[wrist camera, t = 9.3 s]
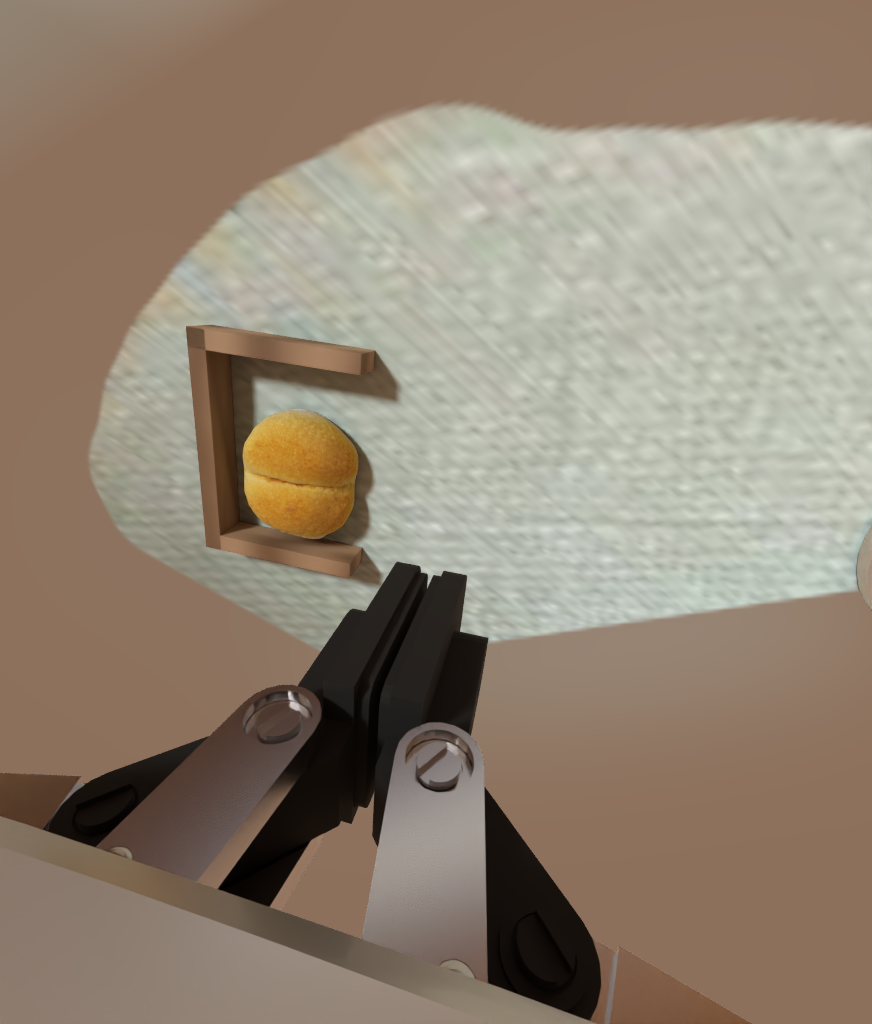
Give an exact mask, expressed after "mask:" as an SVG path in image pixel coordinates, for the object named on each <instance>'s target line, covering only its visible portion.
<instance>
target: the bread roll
mask: <svg viewBox="0 0 872 1024" xmlns="http://www.w3.org/2000/svg"><path fill="white" fill-rule="evenodd" d="M243 463H244V490H245V495H246V497H247V500H248V503H249V506H250V507H251V509H252V510H253V512H254V513H255V514H256V516H257V517H258V518H259V519H260V520H262V521H263V522H264V523H266V524H267V525H269V526H271V527H273V528H275V529H278V530H280V531H281V532H283V533H288V534H292V535H295V536H300V537H303V538H308V539H320V538H323V537H324V536H326V535H327V534H329V533H332V532H334V531H336V530H338V529H339V528H341V527H342V526H343V525H344V524H345V522H346V521H347V519H348V517H349V515H350V513H351V511H352V509H353V505H354V494H355V490H354V486H355V478H356V475H357V472H358V453H357V450H356V448H355V447H354V445H353V444H352V442H351V441H350V440H349V439H348V438H347V437H346V436H345V435H344V433H343V432H342V431H341V430H340V429H339V428H338V427H337V426H336V425H334V424H333V423H332V422H331V421H329V420H328V419H327V418H325V417H324V416H322V415H320V414H319V413H316V412H313V411H310V410H306V409H291V410H287V411H283V412H279V413H276V414H273V415H271V416H269V417H267V418H265V419H264V420H262V421H261V422H260V423H259V424H258V425H257V426H256V427H255V428H254V429H253V431H252V432H251V434H250V435H249V437H248V439H247V440H246V442H245V444H244V449H243Z"/></svg>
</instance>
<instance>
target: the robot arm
mask: <svg viewBox="0 0 872 1024" xmlns="http://www.w3.org/2000/svg"><path fill="white" fill-rule="evenodd" d="M857 579H858V586H859V589H860V592H861V594H862V596H863V599H864V601H865V602H866V604H867V605H868V606H869V608H870V609H871V610H872V527H871V528H870V530H869V531H868V533H867V534H866V536H865V539H864V541H863V544H862V546H861V549H860V552H859V555H858V563H857ZM427 581H428V575H427V574H425V573H421V569H420V566H416V565H411V564H406V563H401V562H397V563H396V564H395V565H394V567H393V568H392V570H391V572H390V573H389V575H388V576H387V578H386V580H385V581H384V583H383V584H382V586H381V587H380V589H379V591H378V592H377V594H376V595H375V597H374V599H373V600H372V602H371V603H370V605H369V607H368V608H367V610H366V611H362V610H357V609H351V610H350V611H349V612H348V613H347V614H346V616H345V617H344V619H343V620H342V622H341V623H340V625H339V626H338V628H337V629H336V630H335V632H334V633H333V635H332V636H331V638H330V639H329V641H328V642H327V644H326V645H325V647H324V648H323V649H322V651H321V652H320V654H319V655H318V657H317V658H316V660H315V661H314V663H313V664H312V666H311V667H310V669H309V670H308V671H307V673H306V674H305V676H304V677H303V679H302V680H301V682H300V683H299V685H298V686H296V685H277V686H273V687H269V688H266V689H264V690H261V691H259V692H257V693H255V694H254V695H252V696H251V697H250V698H248V699H247V700H246V701H245V702H244V703H243V704H242V705H241V706H239V707H238V708H237V709H236V710H235V712H233V713H232V714H231V715H230V716H229V717H228V718H227V719H226V720H225V721H224V722H223V723H222V724H221V725H220V726H219V727H218V728H217V729H216V730H215V731H214V732H213V733H212V734H211V735H210V736H208V737H205V738H202V739H200V740H197V741H194V742H192V743H189V744H186V745H183V746H180V747H178V748H175V749H172V750H169V751H167V752H164V753H161V754H158V755H155V756H153V757H150V758H147V759H144V760H142V761H139V762H136V763H133V764H131V765H128V766H125V767H123V768H120V769H117V770H114V771H111V772H109V773H106V774H104V775H102V776H100V777H98V778H95V779H93V780H91V781H90V782H88V783H83V780H82V777H81V776H66V775H43V774H19V773H0V1024H751V1023H750V1022H748V1021H746V1020H745V1019H743V1018H741V1017H740V1016H738V1015H736V1014H734V1013H733V1012H731V1011H729V1010H728V1009H726V1008H724V1007H723V1006H721V1005H719V1004H717V1003H716V1002H714V1001H712V1000H710V999H709V998H707V997H706V996H704V995H702V994H700V993H699V992H697V991H695V990H694V989H692V988H690V987H689V986H687V985H685V984H683V983H682V982H680V981H678V980H677V979H675V978H673V977H672V976H670V975H668V974H666V973H665V972H663V971H661V970H660V969H658V968H656V967H654V966H653V965H651V964H649V963H647V962H646V961H644V960H642V959H641V958H639V957H637V956H636V955H634V954H632V953H631V952H629V951H627V950H626V949H624V948H622V947H621V946H619V947H618V949H617V951H616V952H615V951H613V950H611V949H610V948H608V947H606V946H605V945H603V944H601V943H600V942H598V941H596V940H594V939H593V938H592V937H591V936H590V934H589V932H588V930H587V928H586V927H585V925H584V923H583V921H582V920H581V918H580V917H579V916H578V914H577V913H576V912H575V910H574V909H573V908H572V906H571V905H570V903H569V902H568V901H567V899H566V898H565V896H564V895H563V894H562V892H561V891H560V890H559V888H558V887H557V885H556V884H555V883H554V881H553V880H552V879H551V877H550V876H549V874H548V873H547V872H546V870H545V869H544V868H543V866H542V865H541V863H540V862H539V861H538V859H537V858H536V857H535V855H534V854H533V852H532V851H531V850H530V848H529V847H528V846H527V844H526V843H525V842H524V840H523V839H522V837H521V836H520V835H519V833H518V832H517V831H516V829H515V828H514V826H513V825H512V824H511V822H510V821H509V819H508V818H507V817H506V815H505V814H504V813H503V811H502V810H501V809H500V807H499V806H498V804H497V803H496V802H495V800H494V799H493V798H492V796H491V795H490V793H489V792H488V791H487V789H486V788H485V786H484V762H483V757H482V752H481V750H480V748H479V747H478V745H477V743H476V741H475V740H474V739H473V738H472V737H471V732H472V727H473V721H474V717H475V711H476V706H477V701H478V696H479V691H480V685H481V680H482V674H483V668H484V662H485V656H486V650H487V644H488V638H486V637H481V636H477V635H472V634H468V633H463V632H460V627H461V620H462V612H463V605H464V597H465V590H466V582H467V575H462V574H457V573H452V572H447V571H443V573H442V576H436V575H434V576H433V577H432V580H431V582H430V584H429V586H428V588H427ZM374 790H375V791H374ZM373 793H374V812H373V813H374V814H373V833H372V836H373V838H374V840H375V843H376V845H377V847H378V851H377V857H376V862H375V867H374V873H373V879H372V884H371V889H370V895H369V901H368V906H367V912H366V917H365V923H364V928H363V934H362V939H360V938H357V937H354V936H351V935H348V934H346V933H343V932H340V931H337V930H334V929H331V928H328V927H326V926H323V925H320V924H316V923H314V922H311V921H308V920H305V919H302V918H299V917H297V916H294V915H291V914H288V913H285V912H282V911H281V910H282V909H283V907H284V905H285V904H286V902H287V900H288V899H289V897H290V895H291V894H292V892H293V890H294V889H295V887H296V885H297V884H298V882H299V880H300V879H301V877H302V875H303V874H304V872H305V870H306V869H307V867H308V865H309V864H310V862H311V860H312V859H313V857H314V855H315V854H316V852H317V850H318V848H319V846H320V843H321V841H322V839H323V834H324V833H326V832H328V831H329V830H331V829H333V828H335V827H337V826H339V824H340V822H341V821H344V822H347V823H350V824H352V821H353V819H354V816H355V814H356V811H357V809H358V806H361V807H364V808H367V807H368V805H369V803H370V801H371V798H372V795H373Z"/></svg>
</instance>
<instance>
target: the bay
mask: <svg viewBox="0 0 872 1024" xmlns="http://www.w3.org/2000/svg"><path fill="white" fill-rule="evenodd" d="M186 332H187V343H188V354H189V364H190V375H191V386H192V397H193V407H194V418H195V429H196V440H197V450H198V461H199V472H200V482H201V493H202V504H203V515H204V525H205V536H206V547H211V548H215V549H220V550H224V551H229V552H233V553H238V554H242V555H246V556H251V557H255V558H260V559H264V560H269V561H273V562H278V563H282V564H287V565H291V566H296V567H300V568H305V569H309V570H313V571H318V572H322V573H327V574H331V575H336V576H340V577H345V578H350V576H351V575H352V574H353V572H354V571H355V569H356V568H357V566H358V565H359V564H360V562H361V554H362V548H361V547H356V546H351V545H347V544H342V543H337V542H333V541H328V540H323V539H308V538H303V537H300V536H295V535H292V534H288V533H283V532H281V531H280V530H276V529H272V528H267V527H262V526H258V525H253V524H248V523H244V522H240V519H239V501H238V484H237V467H236V449H235V432H234V415H233V397H232V380H231V363H230V354H233V355H239V356H245V357H251V358H257V359H264V360H270V361H276V362H282V363H288V364H294V365H300V366H306V367H312V368H318V369H324V370H331V371H337V372H343V373H349V374H355V375H362V374H365V373H368V372H370V371H373V370H374V358H375V350H368V349H362V348H356V347H349V346H343V345H336V344H330V343H324V342H317V341H311V340H304V339H298V338H292V337H285V336H279V335H272V334H266V333H260V332H253V331H247V330H240V329H234V328H228V327H221V326H215V325H203V326H186Z"/></svg>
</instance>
